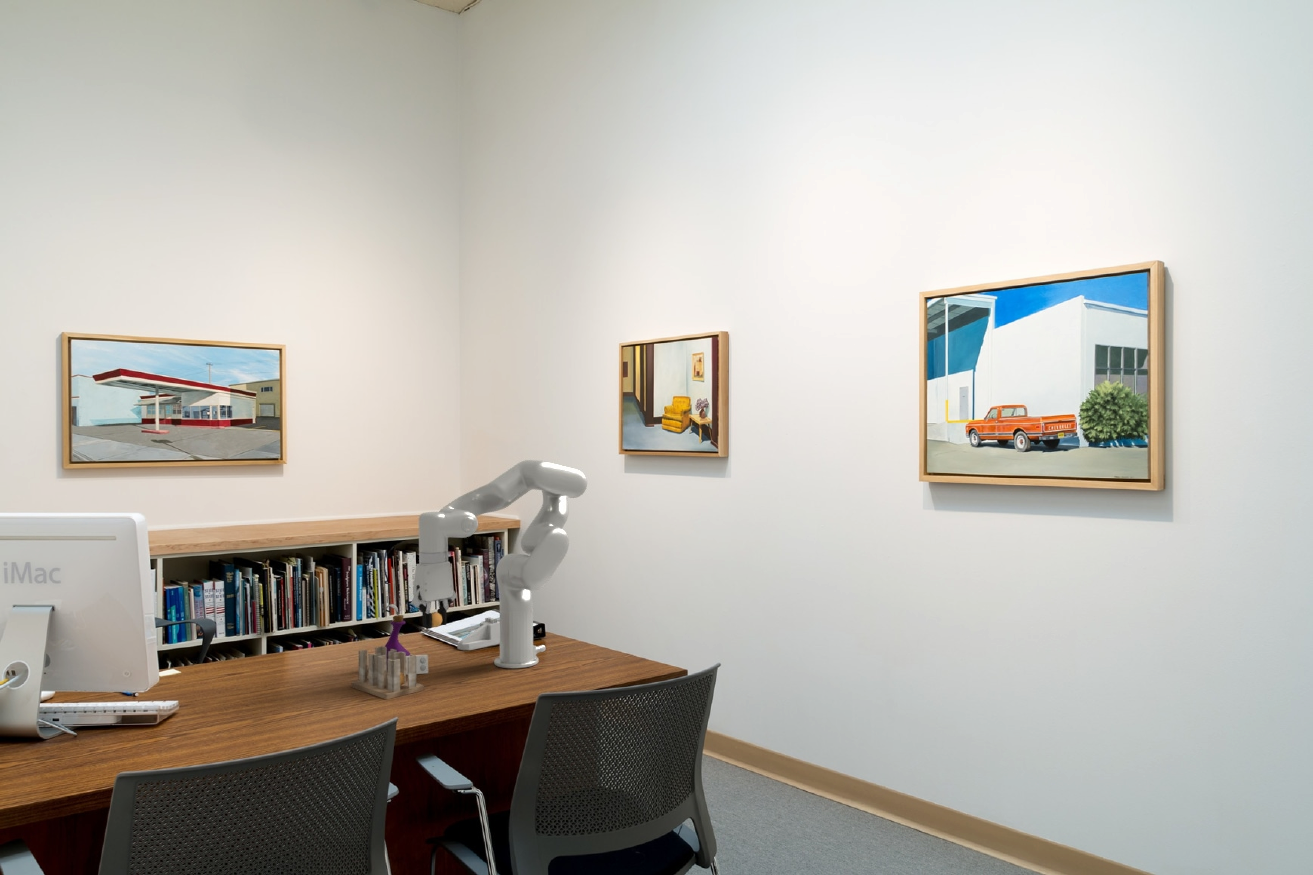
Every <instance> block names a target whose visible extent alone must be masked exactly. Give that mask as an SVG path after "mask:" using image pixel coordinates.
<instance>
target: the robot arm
mask: <svg viewBox="0 0 1313 875" xmlns="http://www.w3.org/2000/svg"><path fill="white" fill-rule="evenodd" d="M587 487H588V480H587V477H586V475H585V474H584V472H582V471H581V470H579V469H577V468H574V467H569V466H565V465H561V464H557V463H553V462H550V461H546V460H540V459H539V460H537V459H535V460H534V459H533V460H532V459H525V460H521V461H519V462H518V463H517V464H515V465H513V466H512V467H510V468H509V469H507V471H505V472H503V473H502V474H500V475H499V476H497V477H496V478H494V479H493V480H492V481H490V482H489V483H487V484H484V485H482V486H480V487H477V488H475V489H473V490H472V491H469V492H466V493H465V494H462V495H461V496H458V497H457V498H455V499H453V500H452V501H451V502H449V503H448V504H447V505H445V506H443V507H442V508H441V509H440V510H439V511H429V512H423V513H421V514H420V515H419V516H418V556H419V557H418V559H419V560H418V562H419V563H417V564H416V567H415V570H414V576H413V577H414V578H413V593H412V594H413V595H412V596H413V598H412V600H411V602H410V604H411V605H412V606H413V607H416V608H417V609H418V610H419V611H420V613H421V614H422V626H423V628H426V629H432V628H433V627H432V613H433V612H431V606H432V605H431V604H432V602H435V601H437V602H438V608H437V611H436V612H437V613H439V614H440V615H441V616H442V623H441V625H440V626H446V625H447V620H448V619H447V617H448V614H447V611H448V610H449V607H450V605H451V604H452V602H453V601H454V600H455V599H457V597H458V594H457V593H456V591H455V590H454V578H453V572H452V566H451V563H450V561H449V557H451V556H452V552H451V551H449V544H448V541H449V538H461V539H463V538H464V539H465V538H467V537H468V538H469V537H471V536H472V535H474V533H475V532H476V531H477V529H478V527H479V521H478V520H479V519H478V518H477V517H478V516H481V515H483V514H488V513H492V512H493V513H494V512H497V511H500V510H505V509H507V508H508V507H509V506H510V505H513V503H515V502H516V501H517V500H519V499H520V498H522V497H523V496H524V495H526V494H528V493H529V492H531V491H532V490H536V491H537V490H538V491H541V492H542V505H541V507H540V509H539V511H538V513H537V514H536V516H535V517H534V519H533V520H532V522H530V524H529V526H528V527H527V528H526V530H525V532H523V534H522V536H521V538H520V548H521V549H522V551H523V552H524V553H526V554H522V553H517V552H516V553H508V554H506V555H503V556H502V557H501V558H500V560H499V561H498V563H497V565H496V570H495V572H496V574H495V575H496V576H495V577H496V581H497V582H496V583H497V587H498V594H499V596H498V597H499V619H500V644H499V656H498V657H497V658H496V657H495V659H494V661H493V662H494V665H495V666H497V667H499V668H504V669H522V668H523V669H524V668H528V667H529V668H530V667H533V666H536V665H538V663H539V660H540V659H539V657H538V656H537V654H538V653H542V652H546V649H547V648H546V646H545V645H544V644H541V645H538V646H536V644H535V645H534V600H533V594H532V592H533V591H534V592H535V591H539V590H540V589H542V588H544V587H545V586H546V585H547V583H548V582H549V581H550V579H551V578H552V576H553V575H554V573H555V572H556V570H557V569H558V568H559V566H560V564H561V563H562V562H563V560H564V558H565V557H566V555H567V553H568V550H569V546H570V539H569V536H568V532H566V530H565V529H563V528H564V526H565V524H566V523H567V521H568V518H569V514H570V508H569V501H568V498H569V499H577V498H579V497H581V496H583V494H584V493H585V492H586V491H587ZM420 601H421V602H420Z"/></svg>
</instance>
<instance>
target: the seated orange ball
mask: <svg viewBox="0 0 1313 875" xmlns="http://www.w3.org/2000/svg"><path fill="white" fill-rule="evenodd" d="M404 682H405V676H404V674H403V673H402V672H400V686H402V685H403V683H404Z"/></svg>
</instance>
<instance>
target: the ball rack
mask: <svg viewBox="0 0 1313 875" xmlns="http://www.w3.org/2000/svg"><path fill="white" fill-rule="evenodd" d="M409 656H410V657H408V675H406V653H405V652H397V650H394V649H390V651H388V670H387V647H385V646H383V645H381V646H377V647H374V654H373V653H368V649H362V650H358V680H356V681H352V682H350V688H353V689H356V690H358V691H361V692H363V693H367V694H369V695H372V696H376V697H378V698H381V699H385V700H391V699H395V698H398V697H402V696H406V695H410V694H412V693H417V692H421V691H424V690H425V685H424V684H421V683H418V682H417V674H416V655H415V654H412V653H410V655H409ZM400 672H402V673H403V674H404V676H405V682H404V683H403V685H402V686H400Z"/></svg>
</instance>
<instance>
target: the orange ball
mask: <svg viewBox="0 0 1313 875" xmlns="http://www.w3.org/2000/svg"><path fill="white" fill-rule="evenodd" d="M431 613H432V628H437V627H440V626H442V625H441V623H442V616H441V615H440V614H439V613H437V611H436V612H431Z"/></svg>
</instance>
